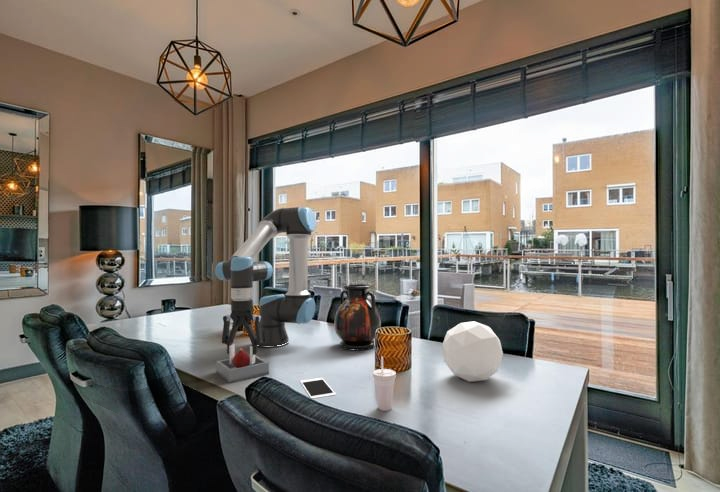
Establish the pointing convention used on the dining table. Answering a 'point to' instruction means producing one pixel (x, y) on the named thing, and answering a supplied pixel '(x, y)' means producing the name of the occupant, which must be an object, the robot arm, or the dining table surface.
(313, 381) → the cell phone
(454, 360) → the geometric orb
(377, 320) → the amphora vase
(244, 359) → the onion
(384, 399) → the smoothie
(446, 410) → the dining table surface
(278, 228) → the robot arm
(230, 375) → the box
